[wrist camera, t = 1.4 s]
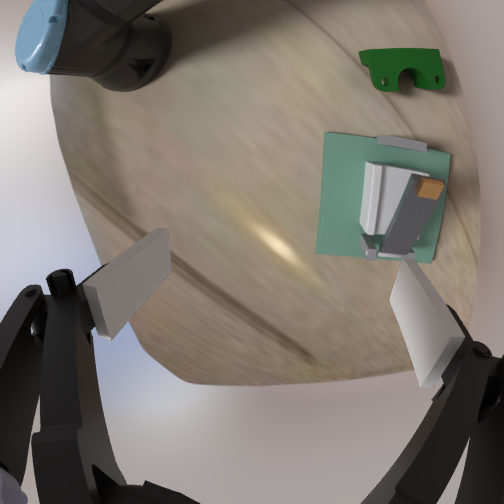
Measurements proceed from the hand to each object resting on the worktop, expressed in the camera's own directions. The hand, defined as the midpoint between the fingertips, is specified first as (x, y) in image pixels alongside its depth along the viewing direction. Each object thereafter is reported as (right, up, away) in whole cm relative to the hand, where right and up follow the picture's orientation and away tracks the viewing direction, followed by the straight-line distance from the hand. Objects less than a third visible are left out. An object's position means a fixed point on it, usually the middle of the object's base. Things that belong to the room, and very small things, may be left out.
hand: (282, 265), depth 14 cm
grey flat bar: (+16, +5, +13) cm, 21 cm away
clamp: (+19, +27, +14) cm, 36 cm away
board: (+18, +8, +22) cm, 30 cm away
